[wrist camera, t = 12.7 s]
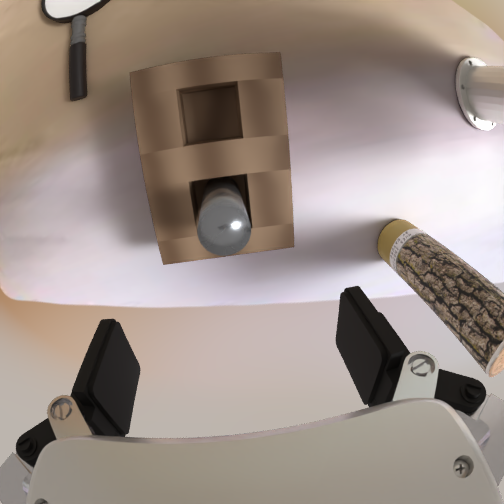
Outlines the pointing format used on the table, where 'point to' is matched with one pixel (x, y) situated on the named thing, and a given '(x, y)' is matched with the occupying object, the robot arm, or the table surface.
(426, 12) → the table surface
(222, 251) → the steel pin
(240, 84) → the brown rectangular block
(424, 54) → the table surface
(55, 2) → the magnifying glass
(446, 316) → the bark pattern cylinder
